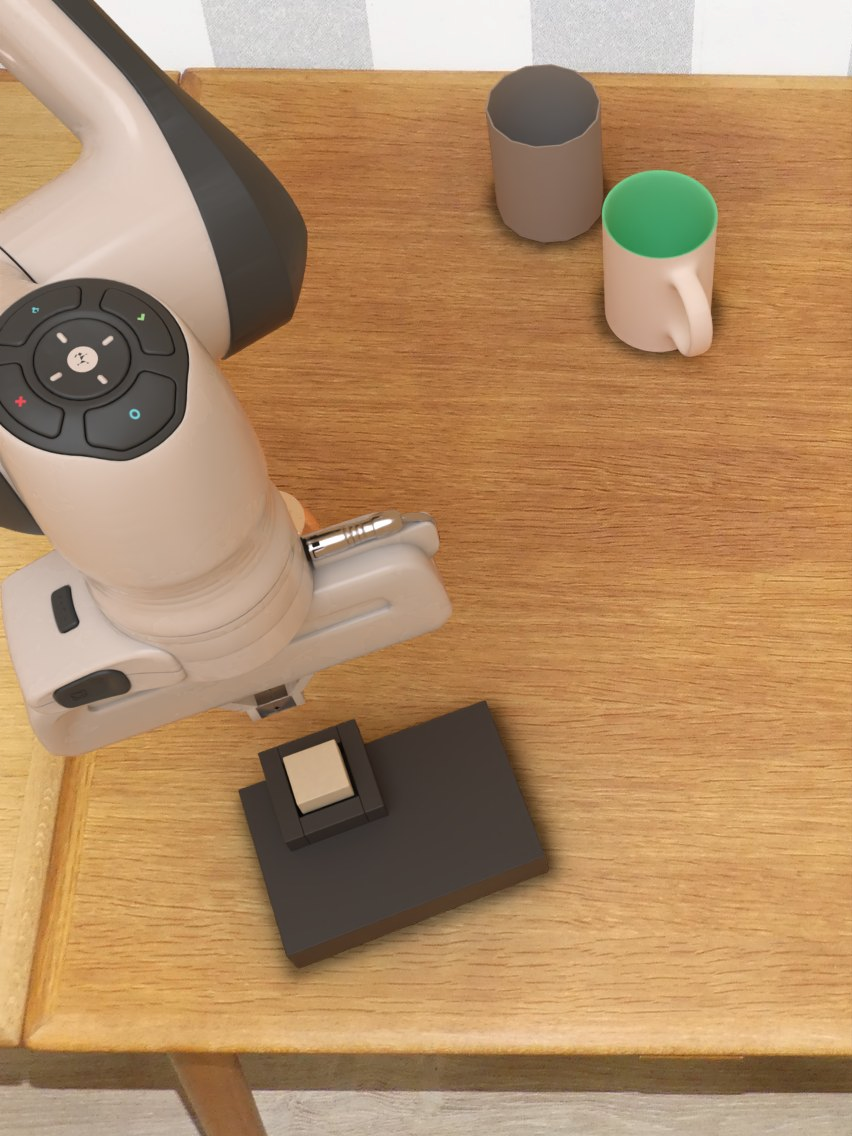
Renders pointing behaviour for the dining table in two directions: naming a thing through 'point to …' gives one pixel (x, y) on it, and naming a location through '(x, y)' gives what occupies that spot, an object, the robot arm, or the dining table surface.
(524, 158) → the cup
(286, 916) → the button panel
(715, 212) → the mug
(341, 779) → the square button
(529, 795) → the dining table surface
